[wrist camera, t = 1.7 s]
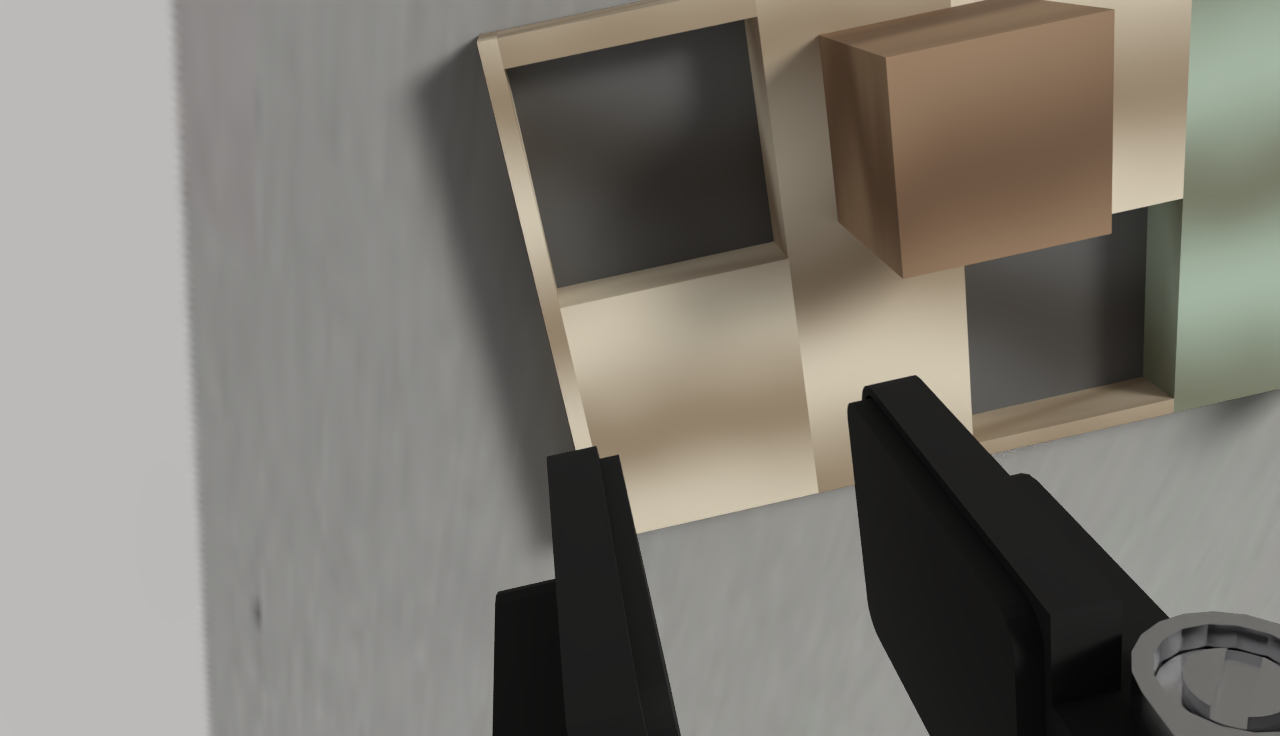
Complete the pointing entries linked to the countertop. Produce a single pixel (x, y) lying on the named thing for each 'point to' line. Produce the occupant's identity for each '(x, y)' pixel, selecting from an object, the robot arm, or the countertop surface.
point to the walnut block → (972, 131)
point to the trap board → (850, 272)
